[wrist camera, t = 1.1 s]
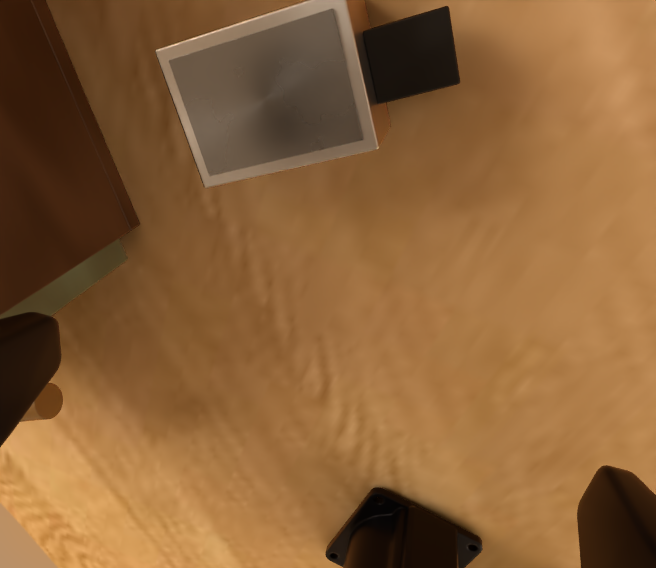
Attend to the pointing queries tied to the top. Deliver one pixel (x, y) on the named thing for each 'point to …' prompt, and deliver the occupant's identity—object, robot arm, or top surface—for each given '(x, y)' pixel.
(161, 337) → the top surface
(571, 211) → the top surface
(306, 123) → the perfume bottle
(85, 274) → the drawer
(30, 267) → the cabinet
